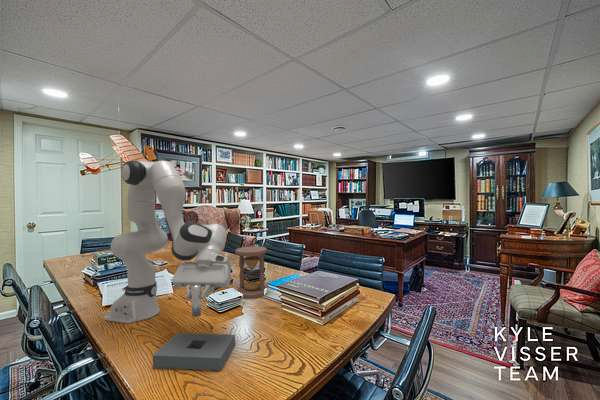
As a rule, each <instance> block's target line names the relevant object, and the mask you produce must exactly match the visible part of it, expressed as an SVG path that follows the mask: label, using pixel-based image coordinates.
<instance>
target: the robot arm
mask: <svg viewBox="0 0 600 400" xmlns="http://www.w3.org/2000/svg"><path fill="white" fill-rule="evenodd" d="M121 177H122V179H123V181H124V182H125V183H126V184H128V191H127V197H126V198H127V199H126V200H127V206H126V208H127V209H126V210H127V212H126V213H127V215H126V216H127V219H128V221H130V222H132V223H134V225H136V228H137V230H136V231H129V232H125V233H122V234H119V235H117V236H115V237H113V238H112V240H111V243H110V250H111V253H112V254H113V255H114V256H115V257H117V258H118V259H120V260H121V261H122V262H123V264H124V265H125V268H126V272H127V273H126V274H127V284H126V286H124V287H122V288H121V289H122V291H123V292H124V293H123V294H122V295H121V296H120V297H119V298H117V299H116V300H115V301H113V302H112V304H111V306H110V309H109V312H108V313H106V314H105V315H104V316H103V320H104V321H109V322H115V323H121V324H127V325H129V324H131V323H135V322H139V321H143V320H147V319H150V318H152V317H154V316H156V315H157V314H159V313H160V311H161V309H160V307H159V303H158V299H157V298H158V297H157V289H158V288H157V287H158V286H157V280H156V265H155V264H154V263H152V262H150V261H148V260H147V257H146V254H149V253H153V252H157V251H160V250H162V249H163V248H165V247H167V245H168V240H169V239H168V234H167V233H166V232H165V231H164V229H162V228H161V227H160V226H159V224H158V221H157V215H156V197H157V198H158V200H159V203H160V206H161V209H162V211H163V214H164V218H165V221H166V224H167V227H168V230H169V234H170V236H171V241H172V244H171V254H172V256H174V257H175V258H176V259H177V260H180V261H184V262H182V263H181V264H179V265H178V267H177V270H175V273H174V274H173V276H172V278H171V282H172V284H173V285H174V287H176V288H186V291H187V293H186V298H187V299H190V300H191V286H192V285H194V284H200V285H201V288H204V290H202V291H201V292H200V295H199V298H200V299H201V300H205V298H206V294H207V293H208V292H209V291H210V290H211V287H212V288H228V287H229V286H230V284H231V279H232V272H231V270H232V264H231V262H230V260H229V258H228V257H227V256H224V255H222V254H223V251H224V249H225V246H226V242H227V237H228V234H227V230H226V228H225V226H223V225H221V224H219V223H210V224H202V223H198V222H195V221H190V222H189V221H188V222H186V223H185V221H184V217H183V209H184V204H185V199H186V187H185V184H184V181H183V179H182V177H181V176H180V173H179V172H178V170H177V168H176V167H175V166H174V165H173V163H172V162H170V161H168V160H158V161H153V160H152V161H149V160H148V161H147V160H145V161H144V160H139V161H138V160H137V159H136V160H128V161H125V163H124V164H123V165H122V169H121ZM194 258H195V260H194V261H191V260H193V259H194Z"/></svg>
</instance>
